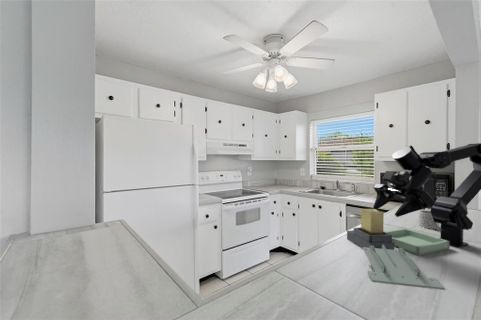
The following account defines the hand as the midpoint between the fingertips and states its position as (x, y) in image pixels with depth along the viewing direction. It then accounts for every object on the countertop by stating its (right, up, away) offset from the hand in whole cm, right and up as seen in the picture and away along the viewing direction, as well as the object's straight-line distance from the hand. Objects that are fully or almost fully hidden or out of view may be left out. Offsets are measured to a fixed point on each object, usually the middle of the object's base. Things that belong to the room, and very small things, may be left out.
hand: (384, 212), depth 71 cm
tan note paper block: (-5, -8, -1) cm, 9 cm away
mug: (+35, -12, +22) cm, 43 cm away
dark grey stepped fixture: (-5, -11, +1) cm, 12 cm away
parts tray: (+10, -11, +2) cm, 16 cm away
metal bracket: (-9, -12, -17) cm, 22 cm away
